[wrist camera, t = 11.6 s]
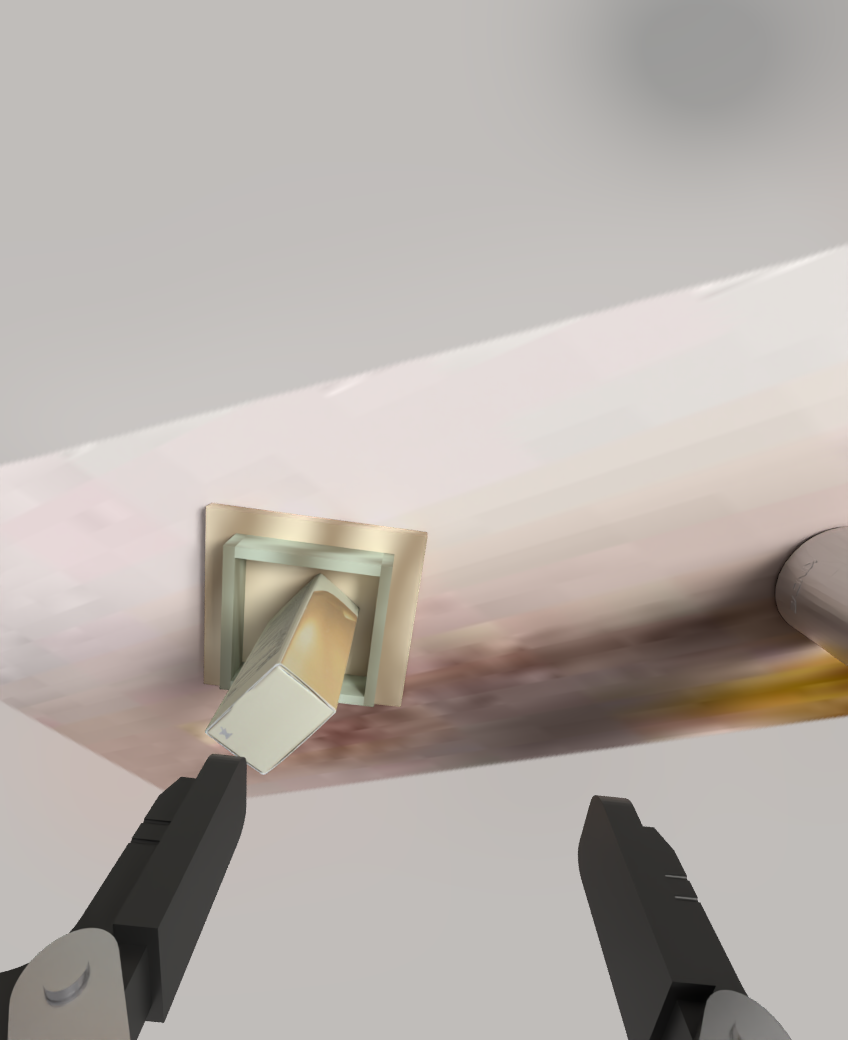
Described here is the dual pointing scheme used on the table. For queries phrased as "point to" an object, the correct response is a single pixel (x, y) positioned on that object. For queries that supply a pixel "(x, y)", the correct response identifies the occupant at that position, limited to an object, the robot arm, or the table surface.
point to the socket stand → (294, 563)
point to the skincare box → (289, 678)
